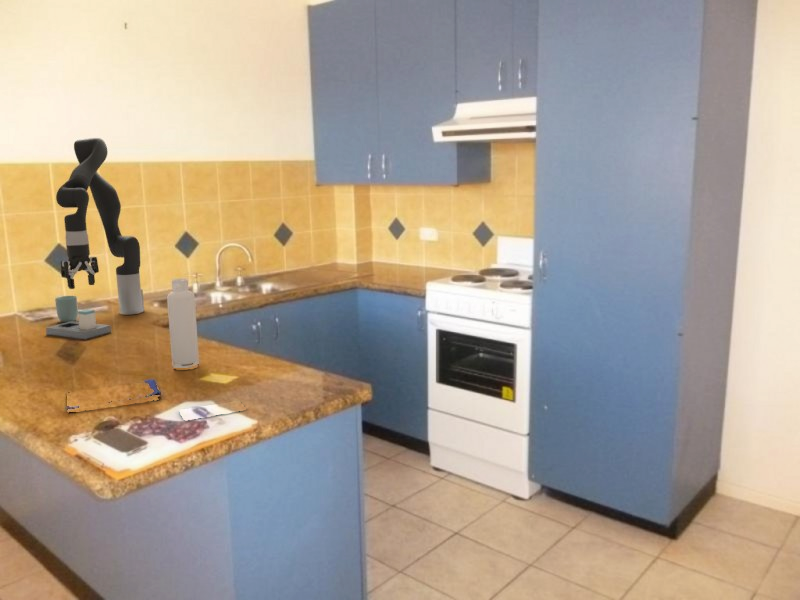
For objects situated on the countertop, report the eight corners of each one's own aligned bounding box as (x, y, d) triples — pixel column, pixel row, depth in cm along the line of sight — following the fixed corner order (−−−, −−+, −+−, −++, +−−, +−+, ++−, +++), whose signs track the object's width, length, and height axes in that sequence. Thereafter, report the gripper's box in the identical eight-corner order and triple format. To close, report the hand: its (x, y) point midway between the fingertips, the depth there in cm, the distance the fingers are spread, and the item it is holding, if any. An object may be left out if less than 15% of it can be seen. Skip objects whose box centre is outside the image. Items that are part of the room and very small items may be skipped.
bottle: (204, 364, 214) (198, 278, 209) (188, 372, 207) (182, 282, 201) (183, 362, 217) (176, 276, 211) (167, 369, 209) (159, 281, 204)
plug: (89, 332, 255) (86, 309, 253) (96, 333, 253) (94, 310, 252) (80, 334, 251) (77, 311, 250) (88, 335, 250) (85, 312, 248)
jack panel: (73, 328, 264) (72, 320, 263) (111, 332, 256) (110, 325, 255) (46, 335, 253) (45, 327, 252) (85, 340, 245) (84, 332, 244)
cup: (70, 323, 271) (67, 299, 269) (53, 323, 273) (50, 298, 271) (83, 319, 279) (80, 295, 277) (66, 318, 280) (64, 295, 278)
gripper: (86, 240, 253) (90, 283, 257) (53, 244, 241) (57, 289, 244) (100, 241, 250) (104, 284, 253) (67, 245, 238) (72, 290, 241)
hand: (81, 286), depth 249 cm, fingers open, 8 cm apart
